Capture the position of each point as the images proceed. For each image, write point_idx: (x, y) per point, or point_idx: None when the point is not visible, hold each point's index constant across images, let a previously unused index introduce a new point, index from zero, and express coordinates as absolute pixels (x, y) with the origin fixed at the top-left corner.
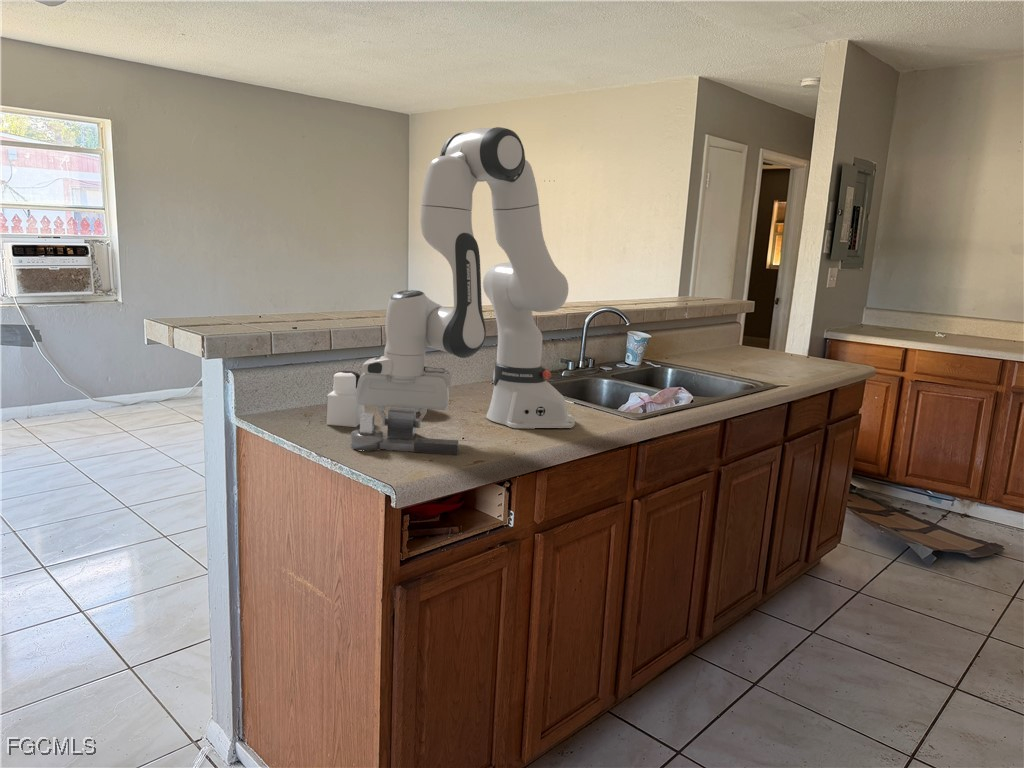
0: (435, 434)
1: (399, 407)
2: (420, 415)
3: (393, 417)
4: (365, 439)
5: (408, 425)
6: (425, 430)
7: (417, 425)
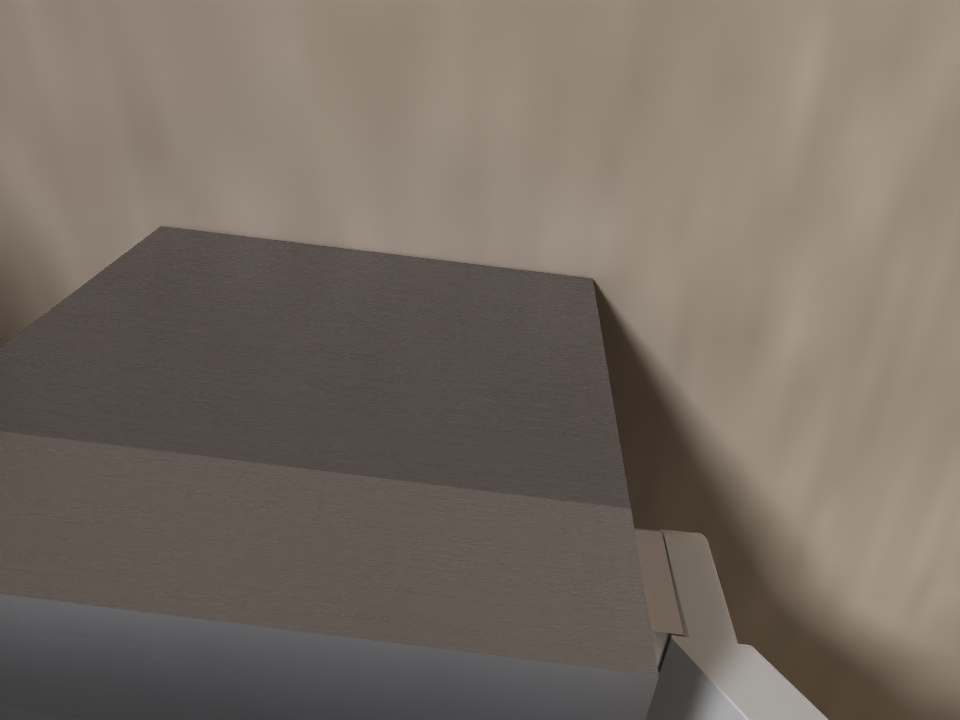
0: (956, 325)
1: (67, 716)
2: (730, 710)
3: None
4: None
5: None
6: (828, 69)
7: None
